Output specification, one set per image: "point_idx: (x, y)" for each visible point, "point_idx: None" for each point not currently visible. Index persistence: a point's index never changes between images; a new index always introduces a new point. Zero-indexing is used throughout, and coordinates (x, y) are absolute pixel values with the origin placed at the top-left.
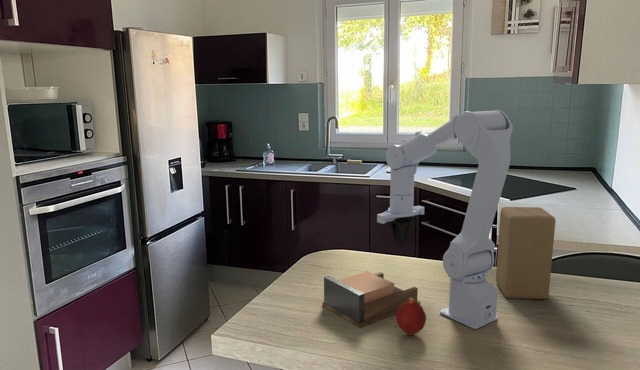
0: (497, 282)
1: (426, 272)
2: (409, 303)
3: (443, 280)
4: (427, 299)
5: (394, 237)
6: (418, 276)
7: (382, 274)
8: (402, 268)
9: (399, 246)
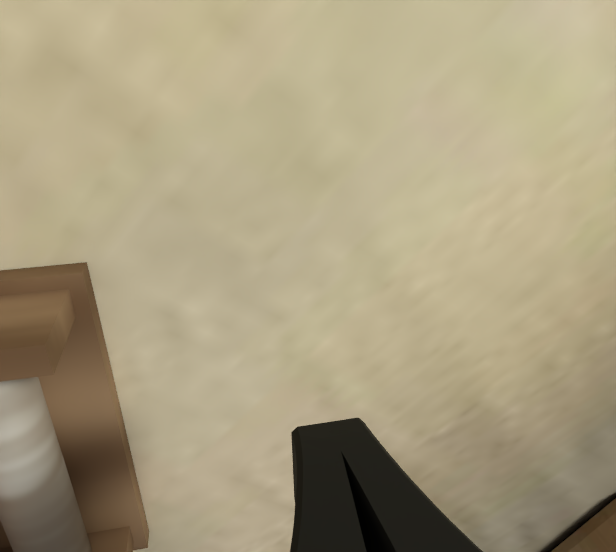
0: (603, 525)
1: (528, 233)
2: None
3: (490, 369)
4: (227, 500)
5: (294, 519)
6: (434, 258)
7: (40, 373)
8: (474, 72)
9: (295, 481)
